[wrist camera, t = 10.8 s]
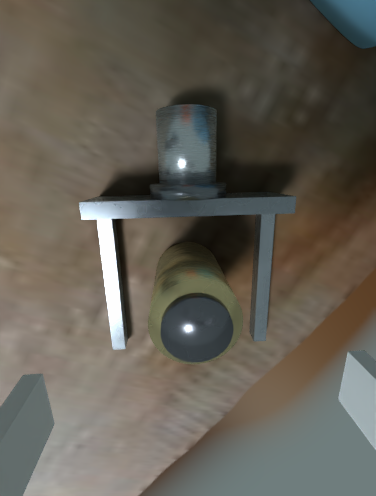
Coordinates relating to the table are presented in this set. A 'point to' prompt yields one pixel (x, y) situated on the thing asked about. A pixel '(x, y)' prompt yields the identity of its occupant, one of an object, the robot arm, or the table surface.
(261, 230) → the flange cradle
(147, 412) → the table surface
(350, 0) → the light blue boxy pot
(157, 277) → the yellow jar
